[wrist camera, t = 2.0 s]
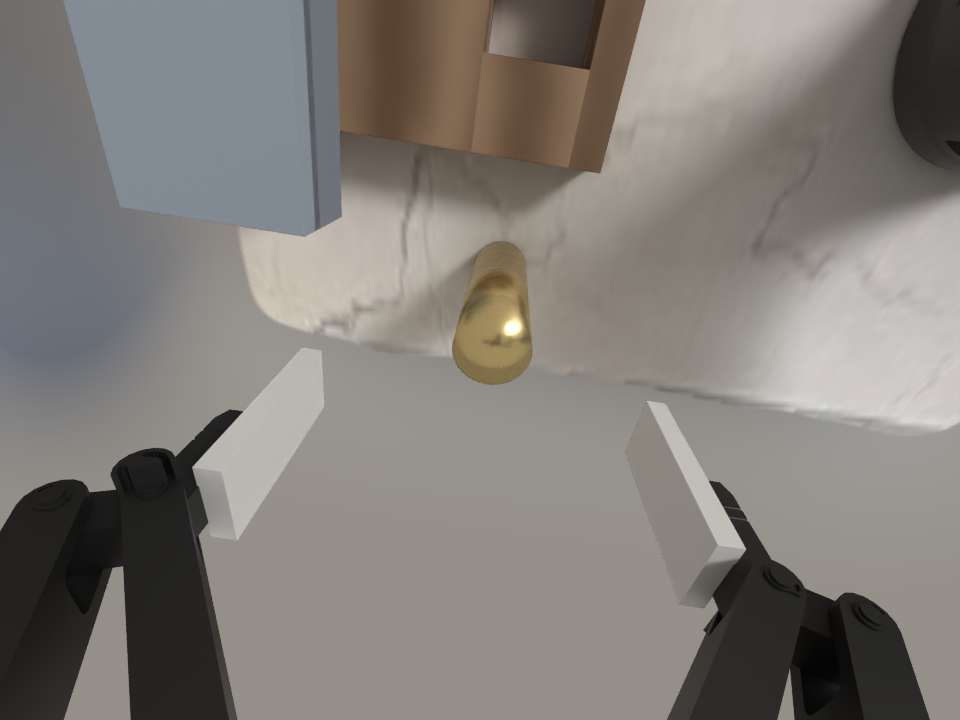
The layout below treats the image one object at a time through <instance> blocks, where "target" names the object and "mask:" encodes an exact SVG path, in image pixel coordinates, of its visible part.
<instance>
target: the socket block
mask: <svg viewBox="0 0 960 720" xmlns="http://www.w3.org/2000/svg"><path fill="white" fill-rule="evenodd" d="M494 1H495V0H337V32H338V77H339V122H340V131H344V132H350V133H357V134H363V135H369V136H375V137H381V138H387V139H393V140H399V141H406V142H412V143H418V144H424V145H430V146H436V147H442V148H448V149H455V150H461V151H467V152H473V153H479V154H485V155H491V156H497V157H503V158H510V159H516V160H522V161H528V162H534V163H540V164H546V165H552V166H559V167H565V168H571V169H577V170H583V171H589V172H595V173H600V172H601V168H602V164H603V161H604V157H605V153H606V149H607V145H608V142H609V138H610V134H611V130H612V126H613V122H614V119H615V115H616V111H617V107H618V103H619V100H620V96H621V92H622V88H623V84H624V81H625V77H626V73H627V69H628V65H629V61H630V58H631V54H632V50H633V46H634V42H635V39H636V35H637V31H638V27H639V23H640V20H641V16H642V12H643V8H644V4H645V0H597V2H596V7H595V11H594V16H593V20H592V25H591V30H590V34H589V39H588V43H587V48H586V53H585V57H584V62H583V66H582V69H580V68H574V67H568V66H562V65H556V64H550V63H544V62H538V61H532V60H526V59H520V58H514V57H508V56H502V55H496V54H490V53H488V50H489V42H490V33H491V25H492V17H493V9H494Z"/></svg>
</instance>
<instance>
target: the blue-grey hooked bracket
mask: <svg viewBox="0 0 960 720" xmlns="http://www.w3.org/2000/svg"><path fill="white" fill-rule="evenodd" d="M63 2H64V5H65V9H66V12H67V16H68V20H69V24H70V27H71V31H72V35H73V38H74V42H75V46H76V49H77V53H78V56H79V60H80V63H81V67H82V71H83V75H84V78H85V82H86V85H87V89H88V93H89V97H90V100H91V104H92V107H93V111H94V115H95V118H96V122H97V126H98V129H99V133H100V137H101V140H102V144H103V148H104V151H105V155H106V158H107V162H108V166H109V169H110V173H111V177H112V180H113V184H114V188H115V191H116V195H117V199H118V202H119V206H120V207H123V208H129V209H135V210H142V211H148V212H154V213H161V214H167V215H172V216H179V217H186V218H192V219H197V220H204V221H210V222H216V223H222V224H229V225H234V226H241V227H247V228H253V229H259V230H266V231H272V232H278V233H284V234H290V235H297V236H303V237H305V236H307V235H309V234H311V233H313V232H314V231H316V230H318V229H320V228H322V227H324V226H325V225H327V224H329V223H331V222H333V221H335V220H336V219H338V218H340V217H342V212H341V167H340V122H339V77H338V32H337V0H63Z"/></svg>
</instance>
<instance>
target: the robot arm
mask: <svg viewBox="0 0 960 720" xmlns="http://www.w3.org/2000/svg"><path fill="white" fill-rule="evenodd" d="M894 106H895V113H896V118H897V121H898V124H899V127H900V129H901V132H902V134H903V135H904V137H905V139H906V141H907V142H908V143H909V145H910V146H911V147H912V148H913V149H914V150H915V151H916V152H917V153H918V154H919V155H920V156H921V157H923V158H924V159H926V160H927V161H929V162H931V163H933V164H935V165H938V166H940V167H943V168H947V169H951V170H957V171H960V0H920V2H919V4H918V6H917V8H916V10H915V12H914V14H913V17H912V19H911V21H910V23H909V26H908V28H907V31H906V33H905V36H904V39H903V42H902V45H901V48H900V52H899V56H898V60H897V65H896V70H895V78H894ZM323 390H324V389H323V371H322V352H321V351H320V350H313V349H307V348H301V350H300V351H299V352H298V353H297V354H296V355H295V356H294V357H293V358H292V359H291V360H290V362H289V363H288V364H287V365H286V366H285V367H284V368H283V369H282V370H281V371H280V372H279V373H278V375H277V376H276V377H275V378H274V379H273V380H272V381H271V382H270V383H269V385H268V386H267V387H266V388H265V389H264V390H263V391H262V392H261V393H260V394H259V395H258V397H256V398H255V400H254V401H253V402H252V403H251V404H250V405H249V406H248V407H247V408H246V409H245V411H244V412H243V411H237V410H228V411H226V412H225V413H223V414H221V415H219V416H217V417H215V418H214V419H213V420H212V421H211V422H210V423H209V424H208V425H207V426H206V427H205V428H204V430H203V431H201V432H200V433H199V434H198V435H197V436H196V437H195V439H194V440H192V441H191V442H190V443H189V444H188V445H187V446H186V447H185V448H184V449H183V450H182V451H181V452H180V453H179V454H178V455H177V456H176V457H175V456H174V454H173V453H172V452H171V451H169V450H166V449H161V448H151V449H145V450H141V451H138V452H135V453H133V454H130V455H128V456H127V457H125V458H123V459H122V460H120V461H119V462H118V463H117V464H116V465H115V466H114V467H113V469H112V472H111V478H112V480H113V482H114V485H115V487H116V490H110V491H99V492H89V490H88V488H87V486H86V485H85V484H84V483H83V482H81V481H78V480H74V479H73V480H60V481H56V482H52V483H48V484H46V485H43V486H41V487H39V488H37V489H34V490H33V491H31V492H30V493H28V494H27V495H25V496H24V497H23V498H22V499H21V500H20V501H19V502H18V503H17V505H16V506H15V508H14V509H13V511H12V513H11V515H10V516H9V518H8V519H7V521H6V523H5V524H4V526H3V528H2V529H1V531H0V720H64V717H65V713H66V711H67V707H68V704H69V701H70V698H71V695H72V692H73V689H74V686H75V682H76V679H77V677H78V673H79V670H80V667H81V664H82V661H83V658H84V655H85V652H86V649H87V646H88V642H89V639H90V636H91V633H92V630H93V627H94V624H95V621H96V617H97V614H98V611H99V608H100V605H101V602H102V599H103V596H104V592H105V590H106V587H107V584H108V580H109V577H110V574H111V571H112V568H114V567H121V566H123V569H124V591H125V609H126V610H125V612H126V632H127V653H128V673H129V694H130V713H131V720H237V716H236V711H235V706H234V701H233V697H232V692H231V687H230V682H229V677H228V673H227V668H226V663H225V658H224V654H223V649H222V645H221V639H220V634H219V630H218V625H217V620H216V615H215V610H214V606H213V601H212V596H211V591H210V587H209V582H208V577H207V573H206V568H205V563H204V558H203V553H202V549H201V543H200V540H199V536H198V535H199V534H200V533H201V531H202V530H203V529H204V527H205V526H206V525H207V524H208V527H209V531H210V535H211V537H217V538H224V539H231V540H238V538H239V537H240V535H241V534H242V532H243V531H244V529H245V528H246V526H247V524H248V523H249V522H250V520H251V518H252V517H253V515H254V514H255V512H256V511H257V509H258V508H259V506H260V505H261V503H262V502H263V500H264V498H265V497H266V495H267V494H268V492H269V491H270V489H271V488H272V486H273V485H274V483H275V482H276V480H277V478H278V477H279V476H280V474H281V472H282V471H283V469H284V468H285V466H286V465H287V463H288V462H289V460H290V459H291V457H292V455H293V454H294V452H295V451H296V449H297V448H298V446H299V445H300V443H301V442H302V440H303V439H304V437H305V436H306V434H307V432H308V431H309V429H310V428H311V426H312V425H313V423H314V422H315V420H316V418H317V417H318V416H319V414H320V412H321V411H322V409H323V408H324V391H323ZM626 455H627V458H628V461H629V464H630V467H631V470H632V473H633V475H634V478H635V481H636V484H637V487H638V490H639V492H640V495H641V498H642V501H643V504H644V507H645V510H646V512H647V515H648V518H649V521H650V524H651V527H652V530H653V532H654V535H655V538H656V541H657V544H658V547H659V549H660V552H661V555H662V558H663V561H664V564H665V567H666V569H667V572H668V575H669V578H670V581H671V583H672V587H673V589H674V592H675V595H676V598H677V601H678V604H679V605H684V606H691V607H698V608H705V606H706V605H707V604H708V602H709V601H710V600H711V598H712V597H713V598H714V600H715V602H716V604H717V607H718V609H719V610H718V611H717V612H716V614H715V615H714V616H713V618H712V619H711V620H710V622H709V623H708V624H707V626H706V627H705V629H704V631H705V632H706V635H705V637H704V639H703V641H702V643H701V646H700V648H699V650H698V652H697V655H696V657H695V659H694V661H693V663H692V665H691V668H690V670H689V672H688V675H687V677H686V679H685V681H684V683H683V685H682V688H681V690H680V692H679V694H678V697H677V699H676V701H675V703H674V705H673V708H672V710H671V712H670V714H669V716H668V719H667V720H777V718H778V714H779V710H780V706H781V702H782V698H783V694H784V690H785V686H786V682H787V678H788V673H789V669H790V672H791V684H792V695H793V706H794V718H795V720H930V719H929V716H928V713H927V710H926V707H925V704H924V701H923V697H922V695H921V691H920V688H919V686H918V682H917V679H916V676H915V673H914V670H913V668H912V664H911V661H910V658H909V655H908V652H907V649H906V646H905V643H904V640H903V637H902V634H901V632H900V630H899V628H898V626H897V624H896V623H895V621H893V619H892V618H891V617H890V616H889V615H888V613H887V612H885V611H884V610H883V609H882V608H880V607H879V606H878V605H877V604H875V603H874V602H872V601H871V600H869V599H867V598H865V597H863V596H861V595H857V594H855V593H844V594H842V595H841V596H840V597H839V598H838V599H837V600H836V601H834V600H831V599H829V598H827V597H824V596H822V595H819V594H817V593H814V592H812V591H810V590H807V589H805V588H804V586H803V584H802V582H801V581H800V580H799V579H798V578H797V576H795V574H794V573H793V572H791V571H790V570H789V569H787V568H786V567H785V566H783V565H781V564H779V563H777V562H775V561H773V560H771V558H770V556H769V555H768V553H767V551H766V550H765V548H764V546H763V545H762V543H761V542H760V540H759V538H758V536H757V535H756V533H755V531H754V530H753V528H752V526H751V525H750V523H749V522H748V521H747V518H746V516H745V515H744V513H743V511H741V510H740V507H739V505H738V503H737V501H736V500H735V498H734V496H733V495H732V494H731V493H730V492H729V491H728V490H727V489H726V488H725V487H724V486H723V485H722V484H721V483H720V482H713V481H708V479H707V478H706V476H705V474H704V472H703V471H702V469H701V467H700V465H699V463H698V461H697V460H696V458H695V456H694V454H693V453H692V451H691V449H690V447H689V445H688V443H687V442H686V440H685V438H684V436H683V434H682V433H681V431H680V429H679V427H678V425H677V424H676V422H675V420H674V418H673V416H672V414H671V413H670V411H669V409H668V408H667V406H666V404H665V403H659V402H652V401H646V404H645V406H644V408H643V411H642V413H641V416H640V418H639V420H638V423H637V425H636V428H635V430H634V432H633V435H632V437H631V440H630V442H629V444H628V447H627V449H626Z"/></svg>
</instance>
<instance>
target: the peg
mask: <svg viewBox="0 0 960 720" xmlns="http://www.w3.org/2000/svg"><path fill="white" fill-rule="evenodd" d="M452 352H453V357H454V360H455V362H456V364H457V366H458V368H459V369H460V370H461V371H462V372H463V373H464V374H465V375H466V376H468V377H469V378H471V379H473V380H475V381H477V382H480V383H484V384H492V385H494V384H503V383H507V382H509V381H512V380H514V379H515V378H517V377H518V376H519V375H521V374H522V373H523V372H524V371H525V370H526V368H527V367H528V365H529V363H530V360H531V357H532V339H531V326H530V314H529V301H528V288H527V275H526V263H525V259H524V256H523V254H522V253H521V251H520V250H519V249H518V248H517V247H516V246H514V245H513V244H511V243H508V242H502V241H499V242H493V243H490V244H488V245H486V246H485V247H484V248H483V249H482V250H481V251H480V252H479V254H478V256H477V258H476V261H475V265H474V268H473V272H472V275H471V279H470V282H469V286H468V290H467V293H466V297H465V300H464V304H463V307H462V311H461V315H460V318H459V322H458V325H457V329H456V333H455V336H454V340H453V345H452Z"/></svg>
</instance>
